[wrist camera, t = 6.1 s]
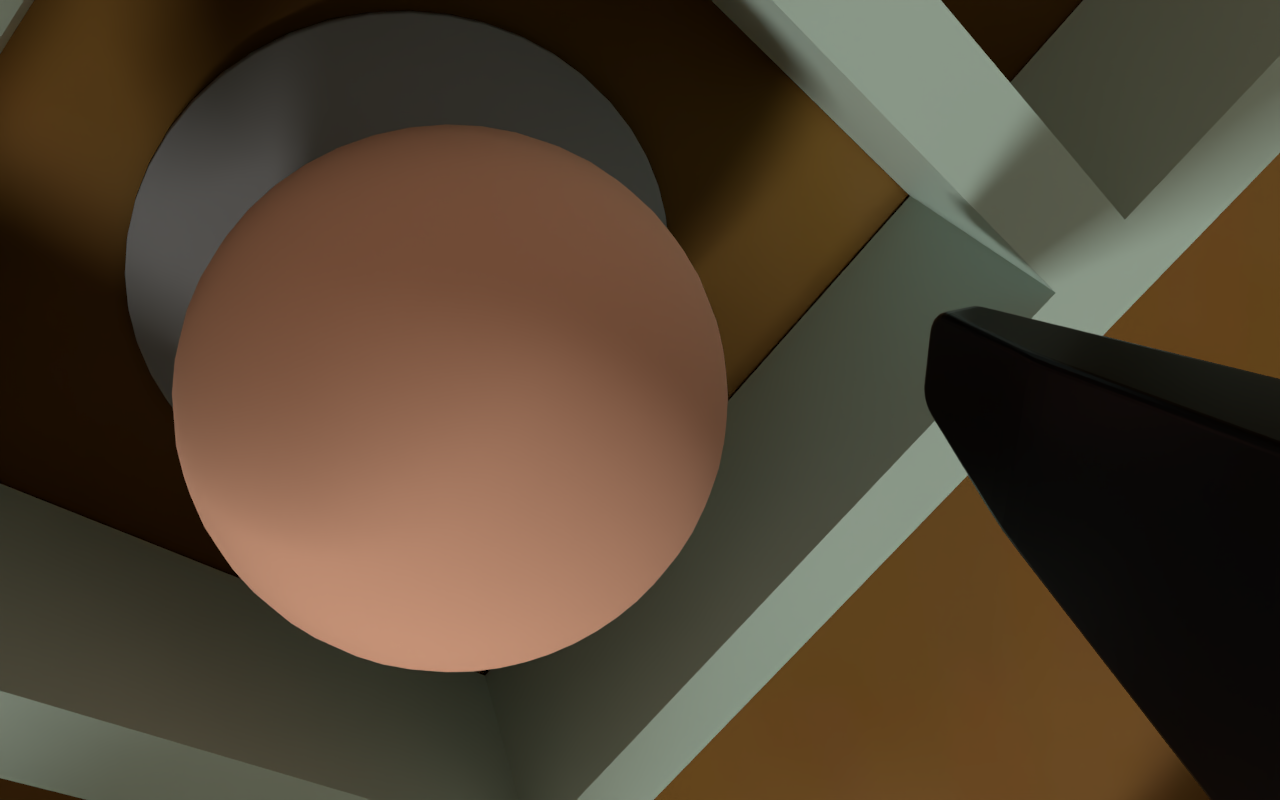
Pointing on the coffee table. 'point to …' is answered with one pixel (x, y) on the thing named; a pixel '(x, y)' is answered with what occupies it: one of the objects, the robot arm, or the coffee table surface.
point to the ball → (450, 398)
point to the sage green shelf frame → (751, 457)
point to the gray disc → (343, 135)
